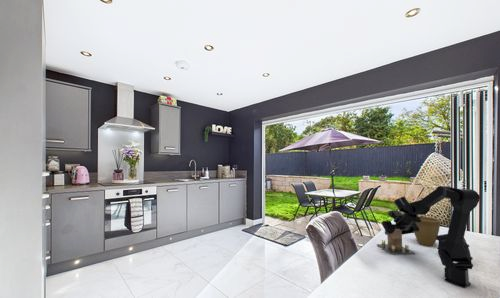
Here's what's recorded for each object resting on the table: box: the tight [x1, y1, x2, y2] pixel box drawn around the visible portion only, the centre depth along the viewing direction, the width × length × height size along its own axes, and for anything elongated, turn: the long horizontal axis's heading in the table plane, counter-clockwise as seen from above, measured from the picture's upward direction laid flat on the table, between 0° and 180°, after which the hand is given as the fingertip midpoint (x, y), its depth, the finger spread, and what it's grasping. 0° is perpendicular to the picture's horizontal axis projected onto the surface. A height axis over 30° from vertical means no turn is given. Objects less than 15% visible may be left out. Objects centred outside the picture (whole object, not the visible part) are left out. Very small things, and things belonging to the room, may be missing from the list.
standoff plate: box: [376, 239, 416, 256], centre depth 125 cm, size 13×13×4 cm
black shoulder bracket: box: [436, 233, 473, 264], centre depth 112 cm, size 4×13×15 cm, turn 27°
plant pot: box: [413, 215, 441, 247], centre depth 136 cm, size 15×15×16 cm
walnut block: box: [386, 223, 403, 250], centre depth 125 cm, size 5×5×13 cm
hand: (392, 234), depth 126 cm, fingers open, 9 cm apart
